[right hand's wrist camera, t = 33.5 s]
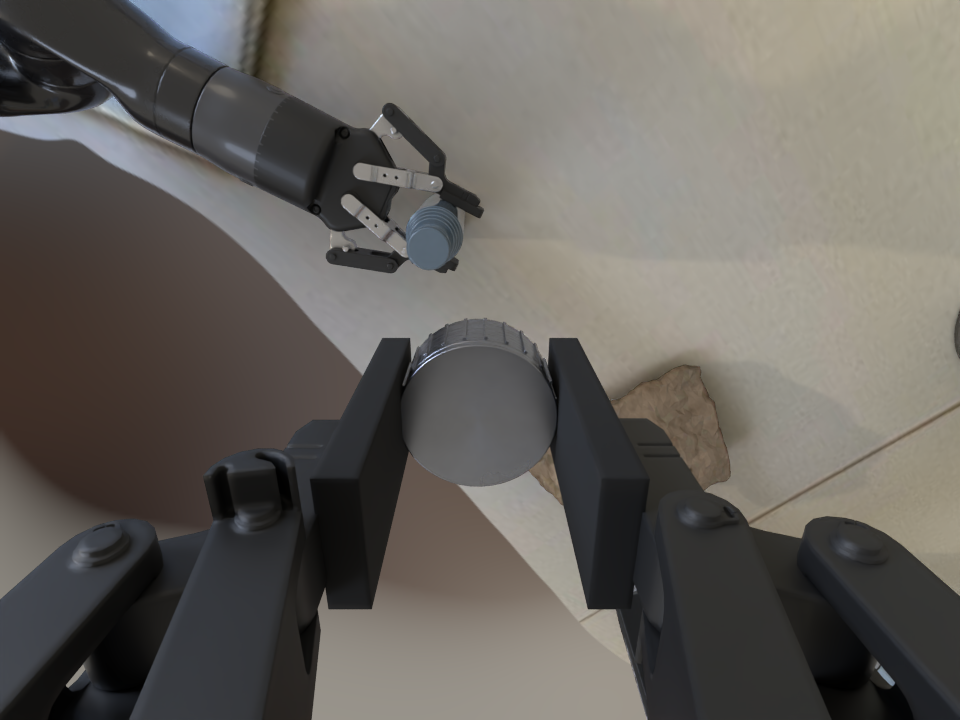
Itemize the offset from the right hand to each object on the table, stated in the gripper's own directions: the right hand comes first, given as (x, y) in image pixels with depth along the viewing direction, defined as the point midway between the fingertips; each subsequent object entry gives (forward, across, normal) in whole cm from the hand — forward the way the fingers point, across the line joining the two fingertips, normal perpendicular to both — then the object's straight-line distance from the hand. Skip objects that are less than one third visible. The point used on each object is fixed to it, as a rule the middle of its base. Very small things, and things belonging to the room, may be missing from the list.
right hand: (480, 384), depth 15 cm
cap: (-2, 0, 0) cm, 2 cm away
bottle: (+38, +4, 0) cm, 38 cm away
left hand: (+31, +1, +1) cm, 31 cm away
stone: (+38, -16, +24) cm, 48 cm away
